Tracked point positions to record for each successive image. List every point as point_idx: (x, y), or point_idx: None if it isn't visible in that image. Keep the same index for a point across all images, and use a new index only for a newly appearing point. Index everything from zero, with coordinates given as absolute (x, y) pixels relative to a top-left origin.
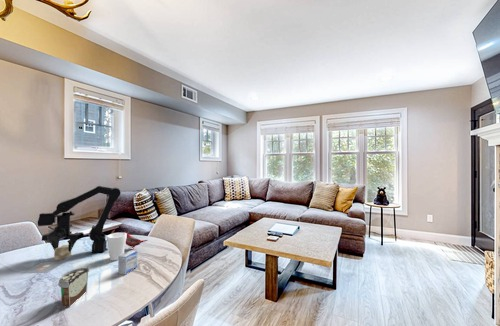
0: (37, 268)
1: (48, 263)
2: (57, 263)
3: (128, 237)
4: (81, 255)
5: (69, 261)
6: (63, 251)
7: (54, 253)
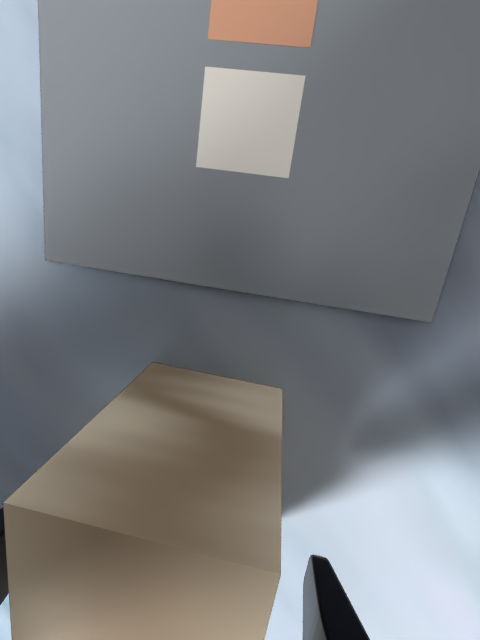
0: (357, 8)
1: (282, 238)
2: (131, 211)
3: None
4: (5, 464)
5: (19, 280)
6: (62, 457)
7: (278, 462)
